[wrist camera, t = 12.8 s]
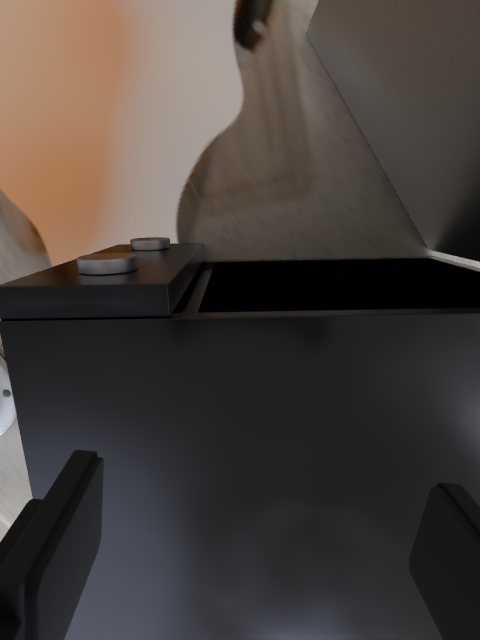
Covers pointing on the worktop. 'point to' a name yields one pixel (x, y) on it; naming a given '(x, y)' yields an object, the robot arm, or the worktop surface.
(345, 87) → the microwave door
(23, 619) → the robot arm
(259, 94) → the worktop surface
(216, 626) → the microwave
